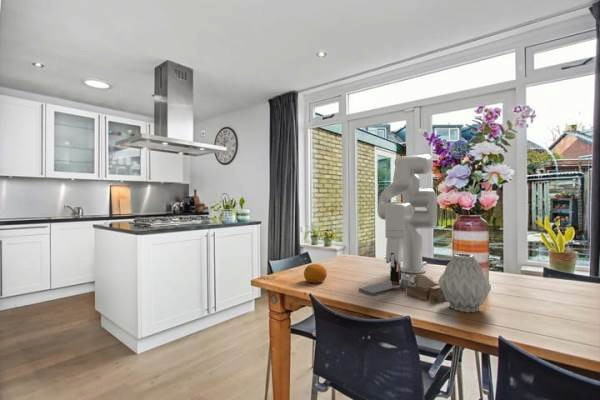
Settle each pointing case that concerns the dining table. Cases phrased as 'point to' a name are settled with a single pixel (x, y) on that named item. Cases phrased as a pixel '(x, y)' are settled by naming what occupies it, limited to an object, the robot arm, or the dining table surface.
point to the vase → (464, 283)
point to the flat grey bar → (381, 288)
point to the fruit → (315, 273)
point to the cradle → (426, 292)
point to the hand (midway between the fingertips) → (395, 279)
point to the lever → (401, 280)
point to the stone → (423, 281)
